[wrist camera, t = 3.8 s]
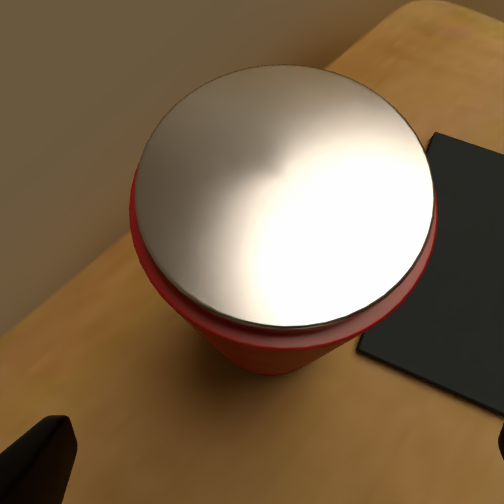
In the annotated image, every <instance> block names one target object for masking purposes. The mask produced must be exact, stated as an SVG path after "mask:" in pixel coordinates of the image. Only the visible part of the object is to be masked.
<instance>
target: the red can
mask: <svg viewBox="0 0 504 504" xmlns="http://www.w3.org/2000/svg"><path fill="white" fill-rule="evenodd" d="M129 216H130V229H131V234H132V239H133V243H134V247H135V250H136V253H137V255H138V258H139V261H140V263H141V265H142V267H143V269H144V271H145V273H146V275H147V276H148V278H149V280H150V282H151V283H152V284H153V286H154V287H155V288H156V290H157V291H158V292H159V294H160V295H161V296H162V298H163V299H164V300H165V301H167V302H168V303H169V304H170V305H171V306H172V307H173V308H174V309H175V310H176V311H177V312H178V313H179V314H180V315H181V316H182V317H183V318H184V319H185V320H186V321H187V322H188V323H189V324H190V325H192V326H193V327H194V328H195V329H196V330H197V331H198V332H199V333H200V334H201V335H202V336H203V337H204V338H205V339H207V340H208V341H209V342H210V343H211V344H212V345H213V346H214V347H215V348H216V349H217V350H218V351H219V352H221V353H222V354H223V355H224V356H225V357H226V358H227V359H228V360H229V361H231V362H232V363H233V364H235V365H237V366H238V367H240V368H242V369H244V370H247V371H249V372H252V373H256V374H262V375H280V374H285V373H289V372H292V371H295V370H297V369H299V368H301V367H303V366H305V365H307V364H309V363H310V362H312V361H314V360H316V359H318V358H319V357H321V356H323V355H325V354H327V353H328V352H330V351H332V350H334V349H335V348H337V347H339V346H341V345H343V344H344V343H346V342H348V341H350V340H352V339H353V338H355V337H357V336H359V335H360V334H362V333H364V332H366V331H368V330H369V329H371V328H372V327H374V326H375V325H377V324H378V323H380V322H381V321H383V320H384V319H386V318H387V317H388V316H389V315H390V314H391V313H392V312H393V311H395V310H396V309H397V308H398V307H399V306H400V305H401V304H402V303H403V302H404V301H405V299H406V298H407V297H408V296H409V294H410V293H411V292H412V291H413V290H414V288H415V287H416V285H417V283H418V282H419V280H420V278H421V277H422V275H423V273H424V272H425V269H426V267H427V264H428V262H429V259H430V257H431V254H432V251H433V247H434V243H435V238H436V234H437V221H438V209H437V196H436V192H435V187H434V179H433V175H432V170H431V166H430V163H429V160H428V157H427V155H426V152H425V150H424V147H423V146H422V144H421V142H420V140H419V138H418V136H417V135H416V133H415V132H414V130H413V129H412V127H411V126H410V125H409V123H408V122H407V121H406V119H405V118H404V117H403V116H402V115H401V114H400V113H399V112H398V111H397V110H396V109H395V108H394V107H393V106H392V105H391V104H390V103H388V102H387V101H386V100H385V99H384V98H382V97H381V96H380V95H378V94H377V93H375V92H374V91H372V90H371V89H369V88H368V87H366V86H364V85H362V84H360V83H358V82H356V81H354V80H352V79H350V78H348V77H345V76H342V75H340V74H337V73H334V72H331V71H327V70H323V69H319V68H314V67H308V66H302V65H286V64H282V65H264V66H257V67H250V68H247V69H242V70H238V71H234V72H231V73H229V74H226V75H223V76H220V77H218V78H216V79H214V80H212V81H210V82H208V83H205V84H203V85H202V86H200V87H199V88H197V89H195V90H194V91H192V92H191V93H189V94H188V95H187V96H186V97H184V98H183V99H182V100H181V101H179V102H178V103H177V104H176V105H175V106H174V107H173V108H172V109H171V110H170V111H169V112H168V113H167V114H166V115H165V116H164V117H163V119H162V120H161V121H160V123H159V124H158V125H157V127H156V128H155V129H154V131H153V133H152V135H151V136H150V138H149V140H148V142H147V144H146V146H145V148H144V151H143V154H142V156H141V159H140V162H139V164H138V167H137V169H136V172H135V175H134V179H133V184H132V188H131V194H130V205H129Z"/></svg>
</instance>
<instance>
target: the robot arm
mask: <svg viewBox="0 0 504 504" xmlns="http://www.w3.org/2000/svg"><path fill="white" fill-rule="evenodd" d="M498 445H499V449H500V452H501V455H502V457H503V459H504V424H503V426H502V429H501V432H500V435H499V438H498ZM76 454H77V440H76V437H75V434H74V430H73V427H72V424H71V421H70V419H69V417H67V416H65V415H51V416H47V417H45V418H43V419H42V420H41V421H40V422H38V423H37V424H36V425H35V426H33V427H32V428H31V429H30V430H29V431H27V432H26V433H25V434H24V435H23V436H21V437H20V438H19V439H18V440H16V441H15V442H14V443H13V444H12V445H10V446H9V447H8V448H7V449H5V450H4V451H3V452H2V453H1V454H0V504H62V501H63V497H64V494H65V491H66V487H67V484H68V481H69V477H70V474H71V471H72V467H73V464H74V461H75V457H76Z"/></svg>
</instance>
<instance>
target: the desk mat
mask: <svg viewBox="0 0 504 504" xmlns="http://www.w3.org/2000/svg"><path fill="white" fill-rule="evenodd" d="M426 155H427V157H428V160H429V163H430V166H431V170H432V175H433V179H434V187H435V192H436V196H437V209H438V221H437V234H436V238H435V243H434V247H433V251H432V254H431V257H430V259H429V262H428V264H427V267H426V269H425V272H424V273H423V275H422V277H421V278H420V280H419V282H418V283H417V285H416V287H415V288H414V290H413V291H412V292H411V293H410V294H409V296H408V297H407V298H406V299H405V301H404V302H403V303H402V304H401V305H400V306H399V307H398V308H397V309H396V310H395V311H393V312H392V313H391V314H390V315H389V316H388V317H387V318H386V319H384V320H383V321H381V322H380V323H378V324H377V325H375V326H374V327H372V328H371V329H369V330H368V331H366V332H364V333H362V335H361V338H360V341H359V343H358V346H357V351H359V352H362V353H364V354H366V355H368V356H371V357H373V358H375V359H377V360H380V361H382V362H384V363H386V364H389V365H391V366H393V367H395V368H398V369H400V370H402V371H404V372H407V373H409V374H411V375H413V376H416V377H418V378H420V379H422V380H425V381H427V382H429V383H431V384H434V385H436V386H438V387H440V388H443V389H445V390H447V391H449V392H452V393H454V394H456V395H458V396H461V397H463V398H465V399H467V400H470V401H472V402H474V403H476V404H479V405H481V406H483V407H485V408H488V409H490V410H492V411H494V412H497V413H499V414H501V415H503V416H504V155H503V154H500V153H497V152H494V151H491V150H488V149H485V148H482V147H479V146H476V145H473V144H470V143H467V142H464V141H461V140H458V139H455V138H453V137H450V136H447V135H444V134H441V133H438V132H435V133H434V134H433V136H432V137H431V140H430V143H429V145H428V148H427V151H426Z"/></svg>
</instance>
